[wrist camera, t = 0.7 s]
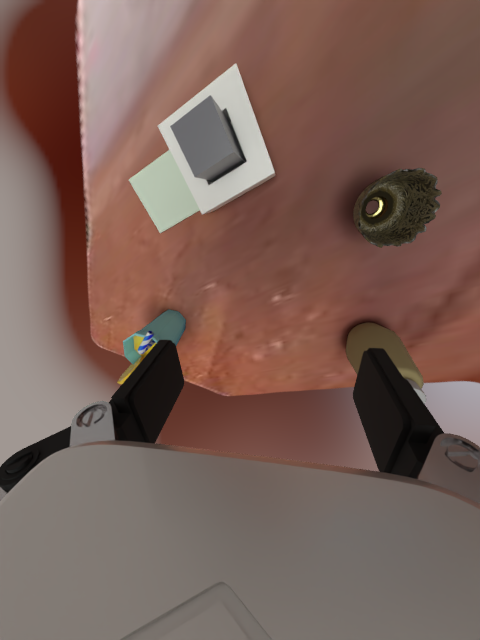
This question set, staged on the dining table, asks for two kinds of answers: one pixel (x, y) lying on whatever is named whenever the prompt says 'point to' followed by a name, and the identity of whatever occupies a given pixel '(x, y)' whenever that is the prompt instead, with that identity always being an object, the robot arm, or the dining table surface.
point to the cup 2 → (397, 207)
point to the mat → (164, 192)
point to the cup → (152, 338)
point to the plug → (208, 141)
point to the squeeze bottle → (391, 343)
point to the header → (242, 118)
